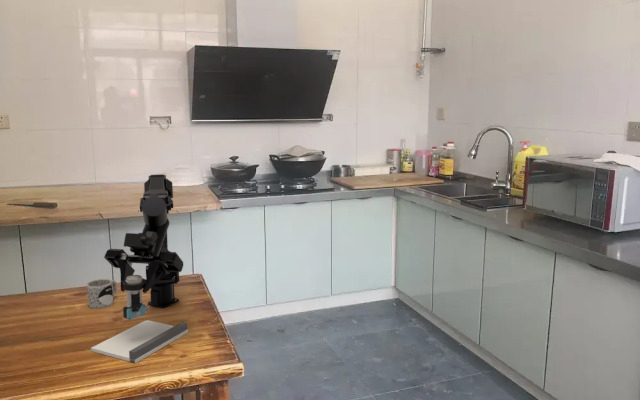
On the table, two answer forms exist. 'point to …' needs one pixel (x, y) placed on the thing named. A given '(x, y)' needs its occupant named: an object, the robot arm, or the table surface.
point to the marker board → (141, 340)
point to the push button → (134, 297)
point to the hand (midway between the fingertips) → (133, 291)
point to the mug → (101, 293)
